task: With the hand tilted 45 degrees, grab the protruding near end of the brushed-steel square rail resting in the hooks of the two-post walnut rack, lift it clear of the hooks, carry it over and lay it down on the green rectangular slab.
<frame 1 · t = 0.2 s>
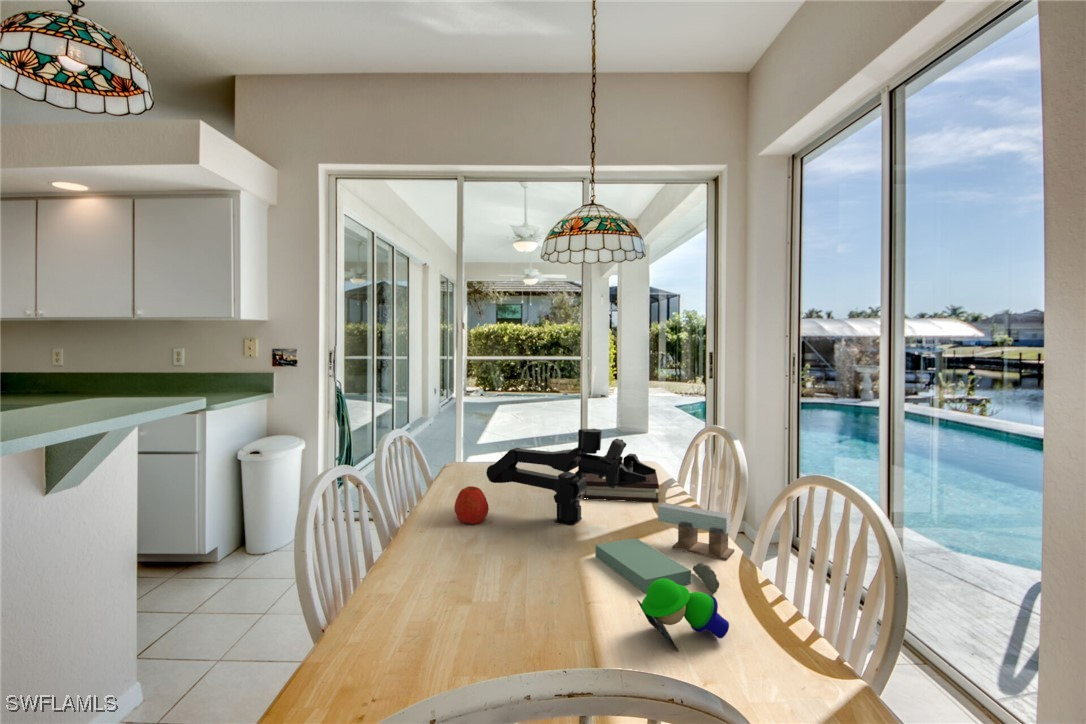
hand: (651, 475, 153), 17 cm above the table, tool horizontal, fingers open, 9 cm apart
green rectangular slab: (640, 569, 130), on the table
decorative book: (620, 495, 195), on the table
apple: (471, 521, 165), on the table
stone: (705, 585, 122), on the table
rack: (702, 549, 143), on the table
rail: (693, 525, 144), point 6 cm above the table, touching rack
toy: (683, 637, 101), on the table
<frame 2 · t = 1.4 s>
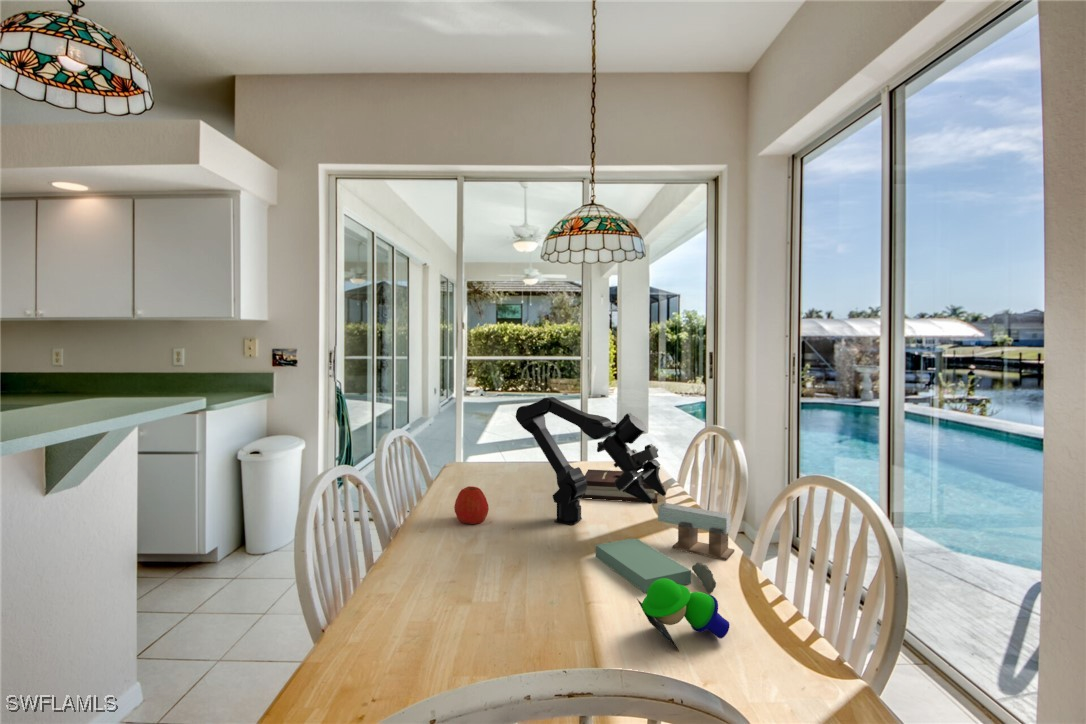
hand: (658, 498, 149), 11 cm above the table, tool tilted 45°, fingers open, 9 cm apart
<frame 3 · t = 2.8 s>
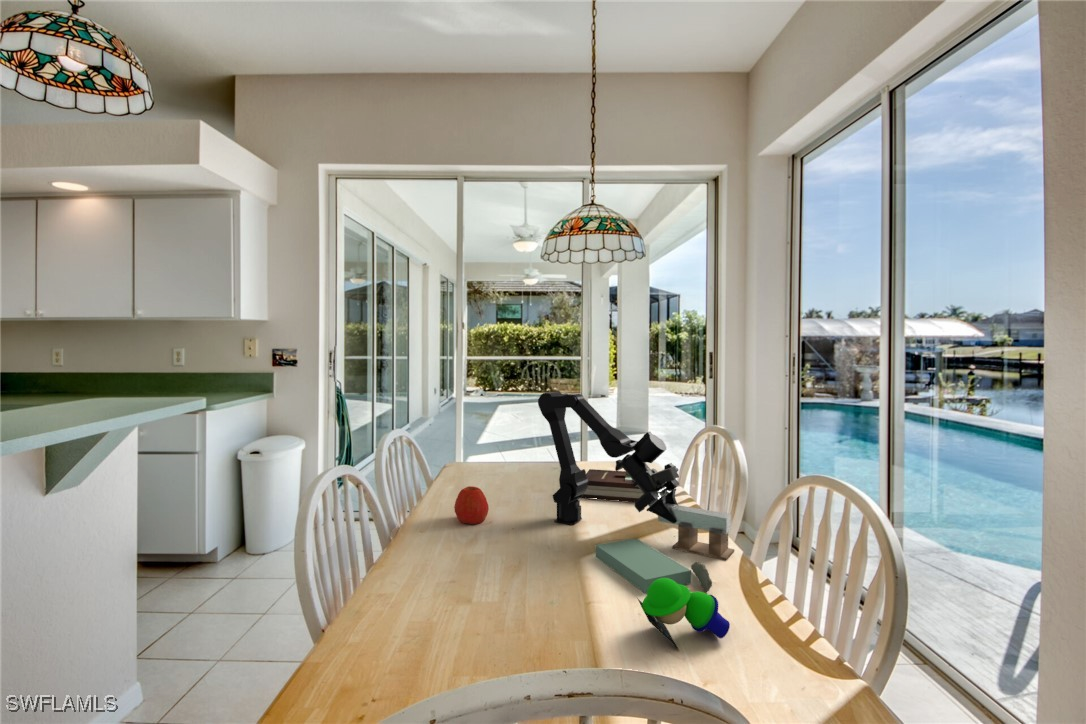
hand: (678, 520, 146), 7 cm above the table, tool tilted 45°, fingers closed on rail, 4 cm apart
rail: (693, 525, 144), point 6 cm above the table, touching gripper, rack
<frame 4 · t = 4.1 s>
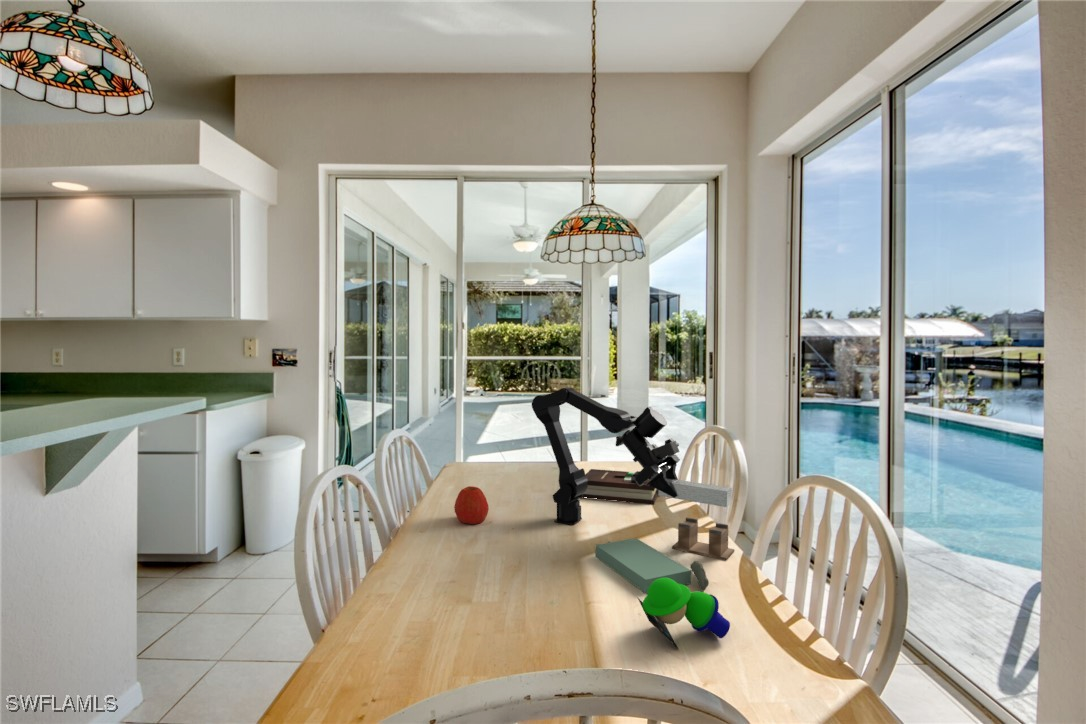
hand: (679, 494, 146), 13 cm above the table, tool tilted 45°, fingers closed on rail, 4 cm apart
rail: (694, 499, 143), point 13 cm above the table, touching gripper
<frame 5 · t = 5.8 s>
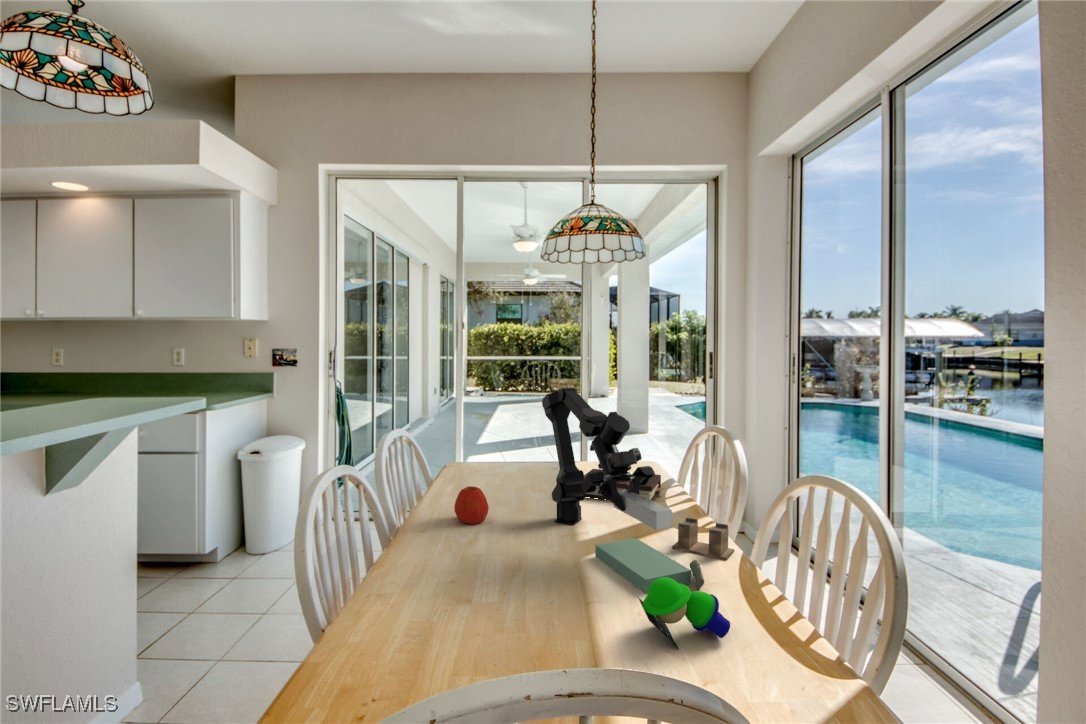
hand: (631, 509, 134), 13 cm above the table, tool tilted 45°, fingers closed on rail, 4 cm apart
rail: (640, 516, 130), point 13 cm above the table, touching gripper
when the fingers open (6 cm above the table, at t = 7.2 s): rail drops 3 cm, resting on green rectangular slab.
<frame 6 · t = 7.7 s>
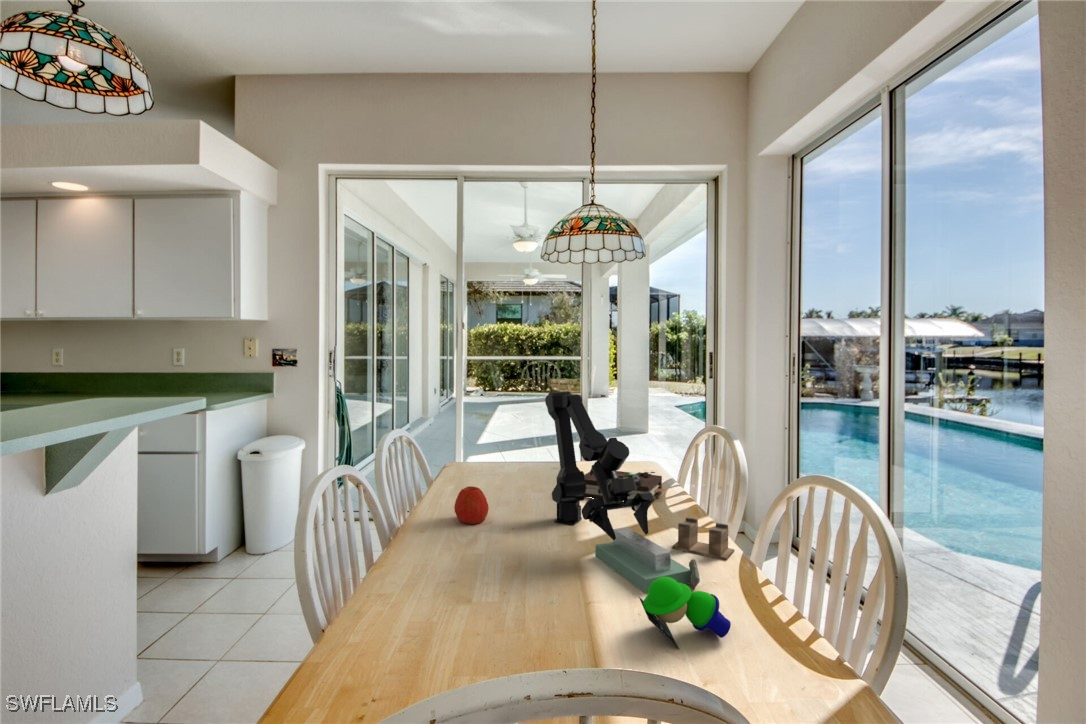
hand: (631, 536, 134), 7 cm above the table, tool tilted 45°, fingers open, 9 cm apart
rail: (640, 556, 130), point 3 cm above the table, touching green rectangular slab
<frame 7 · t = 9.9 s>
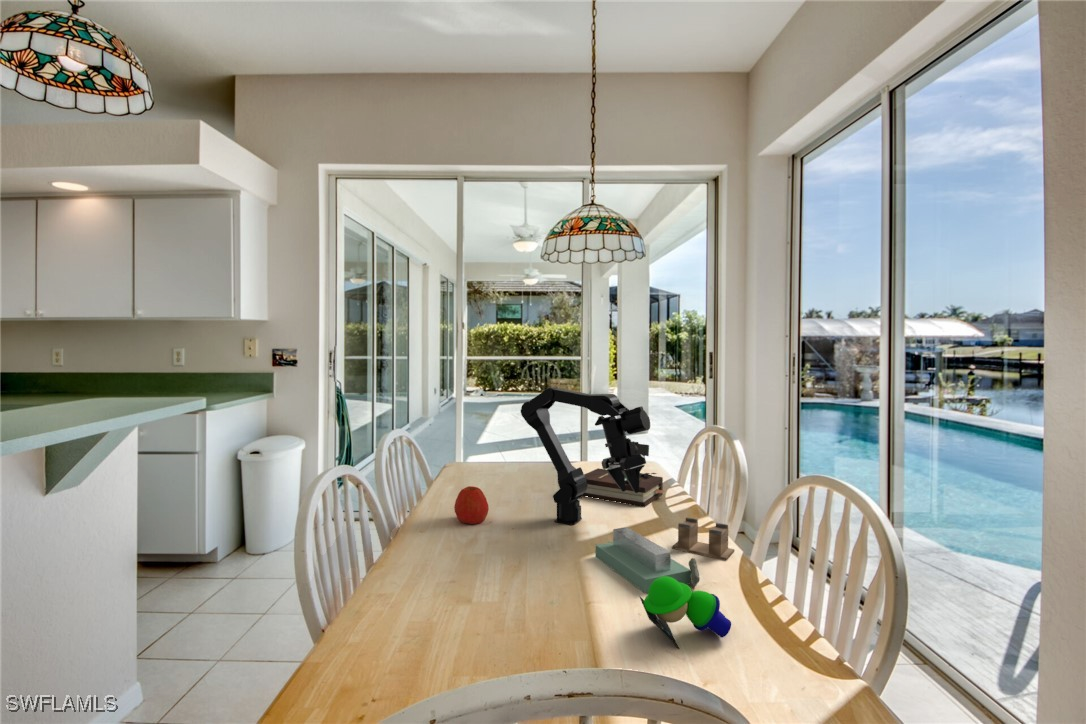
hand: (630, 491, 154), 12 cm above the table, tool tilted 15°, fingers open, 9 cm apart
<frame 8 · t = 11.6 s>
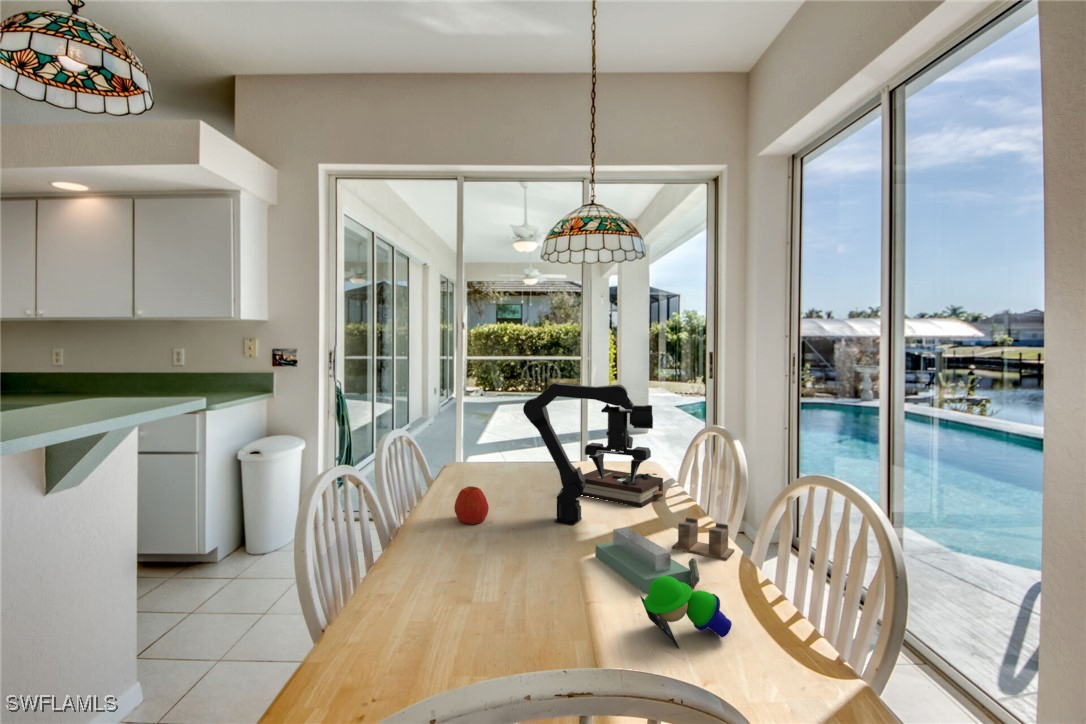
hand: (617, 480, 162), 13 cm above the table, tool pointing down, fingers open, 9 cm apart
at the end: rail inside the target area on the green rectangular slab (0.1 cm from its centre), point 3.0 cm above the green rectangular slab's base; rail touching green rectangular slab; the gripper is holding nothing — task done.
